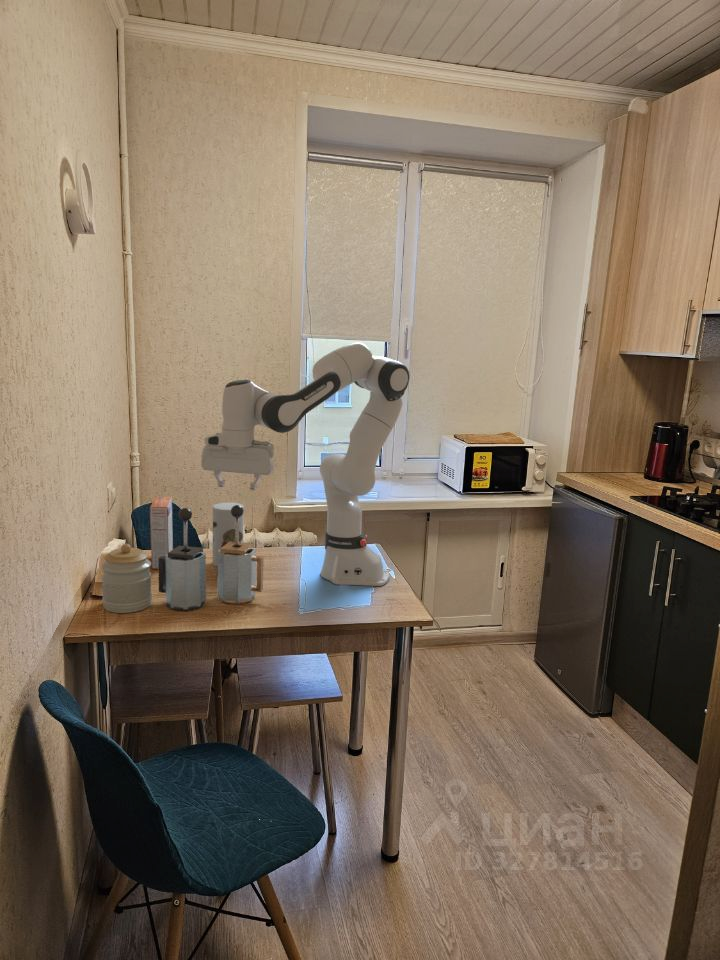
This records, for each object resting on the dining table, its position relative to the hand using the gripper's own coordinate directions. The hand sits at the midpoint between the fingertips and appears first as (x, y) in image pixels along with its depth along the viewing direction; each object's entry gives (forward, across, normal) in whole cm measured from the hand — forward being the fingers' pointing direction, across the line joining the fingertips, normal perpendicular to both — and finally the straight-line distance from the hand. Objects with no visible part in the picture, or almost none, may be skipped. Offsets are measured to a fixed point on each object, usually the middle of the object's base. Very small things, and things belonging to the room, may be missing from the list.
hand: (237, 487), depth 186 cm
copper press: (+33, -1, 0) cm, 33 cm away
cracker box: (+33, +34, -23) cm, 53 cm away
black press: (+33, +13, +8) cm, 36 cm away
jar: (+33, +27, +13) cm, 45 cm away
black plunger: (+22, +12, +8) cm, 26 cm away
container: (+33, +13, -28) cm, 45 cm away
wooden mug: (+33, +7, -15) cm, 37 cm away
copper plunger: (+22, 0, 0) cm, 22 cm away
